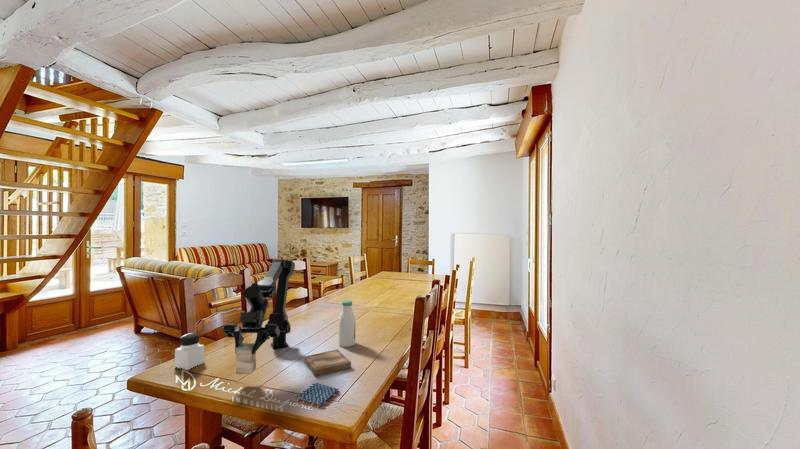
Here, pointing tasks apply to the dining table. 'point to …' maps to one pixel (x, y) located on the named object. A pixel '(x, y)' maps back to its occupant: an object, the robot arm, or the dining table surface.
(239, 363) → the beech block
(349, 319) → the milk bottle
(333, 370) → the base
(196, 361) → the medicine bottle
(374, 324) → the dining table surface
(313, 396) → the woven mat
